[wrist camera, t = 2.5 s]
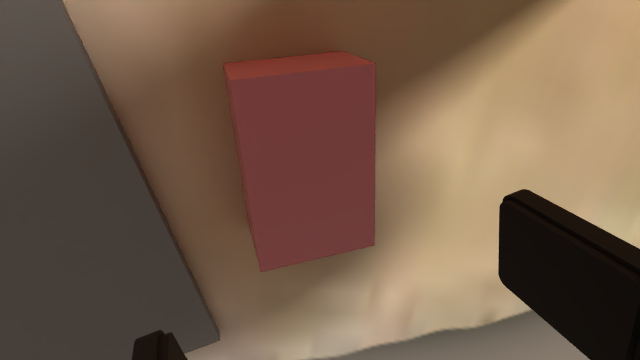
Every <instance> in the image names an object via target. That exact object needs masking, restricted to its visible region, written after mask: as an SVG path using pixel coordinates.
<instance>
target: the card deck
mask: <svg viewBox="0 0 640 360" xmlns="http://www.w3.org/2000/svg"><path fill="white" fill-rule="evenodd" d="M223 67H224V73H225V80H226V86H227V92H228V98H229V104H230V110H231V116H232V122H233V128H234V134H235V140H236V147H237V153H238V159H239V165H240V171H241V177H242V183H243V189H244V195H245V201H246V207H247V214H248V220H249V226H250V231H251V235H252V239H253V243H254V247H255V251H256V255H257V259H258V263H259V267H260V271H261V272H262V271H267V270H271V269H275V268H280V267H284V266H288V265H292V264H297V263H301V262H305V261H310V260H314V259H318V258H322V257H327V256H331V255H335V254H340V253H344V252H348V251H352V250H357V249H361V248H365V247H370V246H374V237H375V118H376V63H373V62H371V61H368V60H365V59H363V58H360V57H358V56H355V55H352V54H350V53H347V52H344V51H337V52H327V53H318V54H308V55H299V56H289V57H280V58H270V59H261V60H251V61H242V62H232V63H223Z"/></svg>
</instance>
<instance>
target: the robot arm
mask: <svg viewBox="0 0 640 360" xmlns="http://www.w3.org/2000/svg"><path fill="white" fill-rule="evenodd" d="M498 273H499V277H500V280H501V282H502V283H503V284H504V285H505V286H506V287H507V288H508V289H509V290H510V291H512V292H513V293H514V294H515V295H516V296H517V297H518V298H520V299H521V300H522V301H523V302H524V303H525V304H527V305H528V306H529V307H530V308H531V309H532V310H534V311H535V312H536V313H537V314H538V315H539V316H540V317H542V318H543V319H544V320H545V321H546V322H548V323H549V324H550V325H551V326H552V327H553V328H554V329H556V330H557V331H558V332H559V333H560V334H561V335H562V336H564V337H565V338H566V339H567V340H568V341H569V342H570V343H572V344H573V345H574V346H575V347H576V348H577V349H579V350H580V351H581V352H582V353H583V354H584V355H586V356H587V357H588V358H589V359H590V360H640V249H639V248H637V247H635V246H633V245H631V244H629V243H627V242H625V241H623V240H622V239H620V238H618V237H616V236H614V235H612V234H610V233H608V232H607V231H605V230H603V229H601V228H599V227H597V226H595V225H593V224H591V223H590V222H588V221H586V220H584V219H582V218H580V217H578V216H576V215H574V214H573V213H571V212H569V211H567V210H565V209H563V208H561V207H559V206H557V205H556V204H554V203H552V202H550V201H548V200H546V199H544V198H542V197H541V196H539V195H537V194H535V193H533V192H531V191H529V190H526V189H522V190H520V191H517V192H514V193H512V194H509V195H507V196H505V197H504V199H503V202H502V203H501V205H500V214H499V272H498ZM132 360H187V358H186V357H185V355H184V353H183V351H182V349H181V347H180V346H179V344H178V342H177V340H176V338H175V336H174V335H173V333H171V332H170V333H167V334H164V332H163V331H162V330H158V331H155V332H153V333H150V334H147V335H145V336H142V337H140V338H137V339H136V340H135V342H134V347H133V354H132Z"/></svg>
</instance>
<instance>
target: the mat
mask: <svg viewBox="0 0 640 360" xmlns="http://www.w3.org/2000/svg"><path fill="white" fill-rule="evenodd" d="M158 330H162V331H163V332H164V334H167V333H170V332H171V333H173V335H174V336H175V338H176V340H177V342H178V344H179V346H180V347H181V349H182V351H183V353H184V354H185V353H187V352H190V351H193V350H195V349H198V348H200V347H203V346H206V345H208V344H211V343H214V342H216V341H219V340H220V335H219V331H218V329H217V326H216V324H215V322H214V320H213V318H212V316H211V314H210V312H209V310H208V307H207V305H206V303H205V301H204V299H203V297H202V295H201V293H200V291H199V288H198V286H197V284H196V282H195V280H194V278H193V276H192V274H191V272H190V269H189V267H188V265H187V263H186V261H185V259H184V257H183V255H182V253H181V250H180V248H179V246H178V244H177V242H176V240H175V238H174V236H173V234H172V231H171V229H170V227H169V225H168V223H167V221H166V219H165V217H164V215H163V212H162V210H161V208H160V206H159V204H158V202H157V200H156V198H155V196H154V194H153V191H152V189H151V187H150V185H149V183H148V181H147V179H146V177H145V175H144V172H143V170H142V168H141V166H140V164H139V162H138V160H137V158H136V156H135V153H134V151H133V149H132V147H131V145H130V143H129V141H128V139H127V137H126V134H125V132H124V130H123V128H122V126H121V124H120V122H119V120H118V118H117V115H116V113H115V111H114V109H113V107H112V105H111V103H110V101H109V99H108V96H107V94H106V92H105V90H104V88H103V86H102V84H101V82H100V80H99V77H98V75H97V73H96V71H95V69H94V67H93V65H92V63H91V61H90V58H89V56H88V54H87V52H86V50H85V48H84V46H83V44H82V42H81V39H80V37H79V35H78V33H77V31H76V29H75V27H74V25H73V23H72V21H71V18H70V16H69V14H68V12H67V10H66V8H65V6H64V4H63V2H62V0H0V360H132V354H133V347H134V342H135V340H136V339H137V338H140V337H142V336H145V335H147V334H150V333H153V332H155V331H158Z"/></svg>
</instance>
